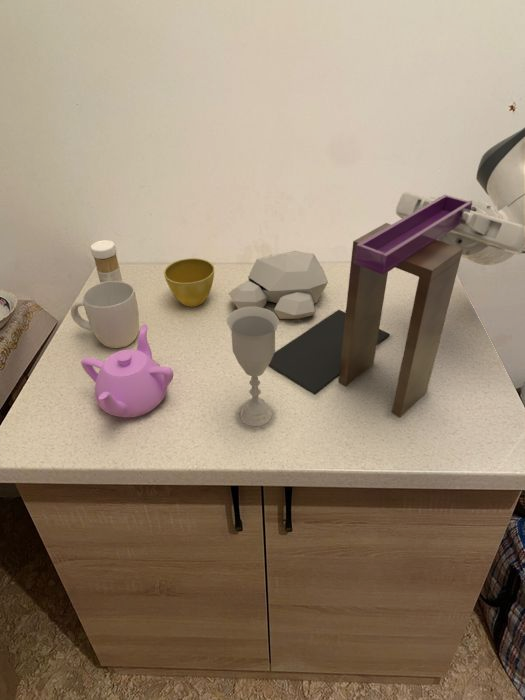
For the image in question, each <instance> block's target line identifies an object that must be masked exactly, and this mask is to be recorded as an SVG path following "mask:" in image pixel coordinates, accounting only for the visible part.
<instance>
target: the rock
mask: <svg viewBox="0 0 525 700" xmlns="http://www.w3.org/2000/svg"><path fill="white" fill-rule="evenodd" d="M247 277H248V280H246V281H245V282H243V283H241V284H240V285H238V286H236V287H235V288H234V289H232V290H230V291H229V292H228V295H229V297H230V300H231V301H232V303H233V304H234V305H235V307H236V308H237V309H239V308H243V307H261V308H265V306H266V304H267V302H270V303H275V304H276V305H275V307H274V309H273V310H274V312H275V314H276V316H277V317H278V319H279V320H301V319H304V318H308V317H311V316H315V314H316V308H315V304H317V303H318V301H319V300H320V297H321V296H322V294H323V293H324V291H325V289H326V287H327V285H328V283H329V281H328V277H327V275H326V273H325V270H324V268H323V267H322V265H321V263H320V261H319V259H318V258H317V257H316V255H315V254H314V253H311V252H305V251H298V250H293V251H287V252H281V253H276V254H272V255H268V256H263V257H259V258H256V260H255V262H254V264H253V266H252V267H251V269H250V272H249V274H248V275H247Z"/></svg>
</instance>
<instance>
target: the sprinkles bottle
mask: <svg viewBox="0 0 525 700" xmlns="http://www.w3.org/2000/svg"><path fill="white" fill-rule="evenodd" d="M90 251H91V256H92V257H93V260H94V262H95V267H96V272H97V276H98V280H99V283H102V282H107V281H121V282H124V281H123V277H122V271H121V267H120V265H119V261H118V256H117V248H116V244H115V242H114V241H112V240H108V239H102V240H98V241H96V242H94V243H92V244H91V246H90Z"/></svg>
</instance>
